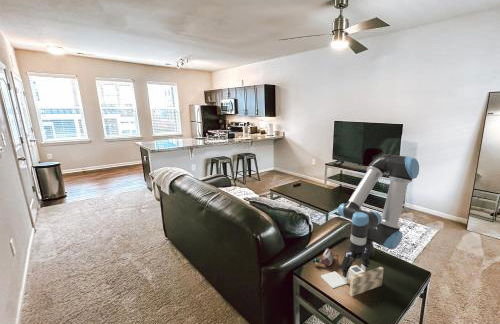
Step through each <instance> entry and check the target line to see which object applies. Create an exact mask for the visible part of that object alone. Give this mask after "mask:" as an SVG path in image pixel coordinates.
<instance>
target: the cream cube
mask: <svg viewBox="0 0 500 324" xmlns="http://www.w3.org/2000/svg"><path fill="white" fill-rule="evenodd" d="M348 272H349V276H348V280H350V279H351V276H354V275H357V274H360V273H363V272H365V271H364V270H362V269H361V266H359V265H357V264H355V265H351V267H350V268H349V270H348Z"/></svg>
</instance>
